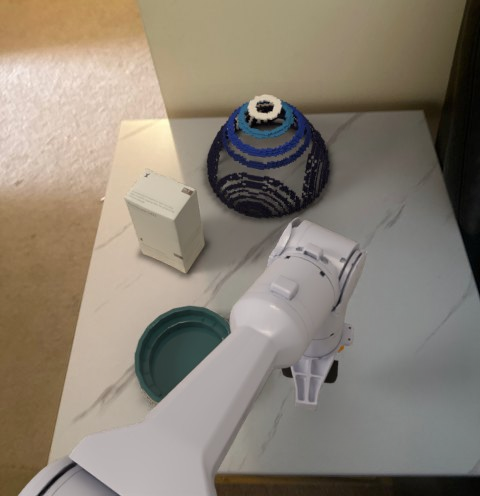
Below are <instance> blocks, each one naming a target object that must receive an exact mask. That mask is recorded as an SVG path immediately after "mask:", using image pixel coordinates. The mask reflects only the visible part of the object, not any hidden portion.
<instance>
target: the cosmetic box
mask: <svg viewBox="0 0 480 496" xmlns="http://www.w3.org/2000/svg"><path fill="white" fill-rule="evenodd" d="M123 199H124V201H125V204H126V208H127V210H128V214H129V216H130V219H131V223H132V225H133V229H134V232H135V235H136V238H137V241H138V245H139V248H140V250H141V253H142V254H143V255H144V256H148V257H150V258H153V259H155V260H157V261H160V262H162V263H164V264H166V265H168V266H170V267H172V268H174V269H175V270H178V271H179V272H181V273H183V274H187V273H188V272H189V270H190V269H191V267H192V266H193V265H194V263H195V261H196V259H197V258H198V257H199V255H200V254H201V252H202V251H203V248H204V247H205V246H206V242H205V237H204V230H203V224H202V218H201V217H202V216H201V211H200V205H199V199H198V191H197V189H196V188H195V187H192V186H189V185H187V184H184V183H182V182H180V181H177V180H176V179H175V178H173V177H171V176H167V175H163V174H161V173H160V174H159V173H158V172H156V171H153V170H151V169H149V168H145V169H144V170H143V172H142V173H141V174H140V176H139V177H138V178H137V180H136V181H135V182H134V184H133V185H132V186H131V188H130V189H129V190H128V191H127V193H126V194H125V195H124V197H123Z"/></svg>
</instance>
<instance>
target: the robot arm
mask: <svg viewBox="0 0 480 496" xmlns="http://www.w3.org/2000/svg"><path fill="white" fill-rule="evenodd" d="M275 245H276V246H275V247H274V248H273V250H272V251H271V253H270V255H269V256H268V259H267V265H266V268H265V269H264V271H263V272H262V273H261V274H260V275H259V276H258V278H256V279H255V281H254V282H252V284H251V285H250V287H248V289H247V290H246V291H245V292H244V293H243V294H242V295H241V297H239V299H238V300H237V301H236V302H235V304H233V306H232V307H231V311H230V314H229V325H230V330H231V334H230V335H229V336H228V337H227V338H225V339H224V340H223V341H222V342H221V343H220V344H219V345H218V346H217V347H216V348H215V349H214V350H213V351H212V352H211V353H210V354H209V355H208V356H207V357H206V358H205V359H204V360H203V361H202V362H201V363H200V364H199V365H198V366H197V367H196V368H195V369H194V370H192V371H191V372H190V373H189V374H188V375H187V376H186V377H185V378H184V379H183V380H182V381H181V382H180V383H179V384H178V385H177V386H176V387H175V388H174V389H173V390H172V391H171V392H170V393H169V394H168V395H167V396H166V397H165V398H164V399H163V400H162V401H161V402H159V403H158V404H157V405H156V406H155V405H154V407H153V408H152V409H151V410H150V411H149V412H148V413H147V414H146V415H145V416H144V417H143V418H142V419H141V420H139V421H138V422H136V423H133V424H129V425H124V426H120V427H119V426H118V427H115V428H110V429H107V430H106V429H105V430H102V431H97V432H92V433H89V434H87V435H86V436H84V437H83V438H81V440H80V441H79V442H78V443H77V445H76V446H75V447H74V448H73V450H72V451H71V452H70V453H69V454H66V455H64V456H63V457H61V458H58V459H56V460H53V461H52V462H50V463H49V464H47V465H46V466H45V467H43V468H42V469H41V470H40V471H38V472H37V473H36V474H35V475H34V476H33V478H31V479H30V481H28V483H27V484H26V485H25V486H24V487H23V489H22V490H21V491H20V492H19V494H18V495H17V496H218V492H217V489H216V486H215V479H216V475H217V473H218V471H219V469H220V467H222V464H223V462H224V460H225V459H226V456H227V455H228V452H229V451H230V449H231V447H232V446H233V443H234V441H235V440H236V438H237V436H238V434H239V433H240V430H241V429H242V427H243V425H244V423H245V422H246V419H247V418H248V416H249V414H250V413H251V411H252V409H253V406H254V405H255V402H256V401H257V399H258V397H259V396H260V394H261V392H262V390H263V388H264V387H265V384H266V382H267V380H268V379H269V377H270V375H271V373H272V371H273V370H274V369H275V370H276V369H277V370H279V369H281V373H282V375H283V377H284V378H288V379H292V381H293V383H294V389H295V402H294V403H295V405H294V407H295V408H296V409H302V410H307V411H314V412H316V411H317V410H318V402H319V395H320V393H321V390H322V388H323V385H324V384H334V383H336V381H337V379H338V376H339V360H338V359H336V357H337V355H338V353H339V352H338V351H339V349H340V347H341V346H344V347H345V346H346V347H350V346H352V345H353V343H354V336H355V335H354V334H355V328H354V325H353V324H351V323H346V322H345V319H346V315H347V308H348V303H349V301H350V299H351V298H352V295H353V294H354V291H355V289H356V287H357V285H358V282H359V281H360V278H361V276H362V273H363V271H364V268H365V264H366V259H367V255H368V250H364V249H362V248H360V242H357V241H355V240H353V239H350V238H349V237H347V236H344V235H342V234H339V233H338V232H335V231H333V230H330V229H328V228H326V227H324V226H322V225H319V224H317V223H315V222H312V221H310V220H308V219H304V220H302V219H301V218H300V217H295V218H293V219H292V220H291V221H289V223H288V224H287V226H286V228H285V229H284V231H283V232H282V234H281V236H280V237H279V239H278V242H277V243H276V244H275Z"/></svg>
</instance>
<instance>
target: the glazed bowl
mask: <svg viewBox="0 0 480 496" xmlns="http://www.w3.org/2000/svg"><path fill="white" fill-rule="evenodd" d="M230 334H231V330H230V323H229V322H228V321H226V319H224V318H223V317H222V316H221V315H220V314H219V313H217V312H216V311H213V310H212V309H210V308H208V307H204V306H196V305H185V306H179V307H172V309H170V310H167V311H165V312H163V313H162V314H159V315H158V316H157V317H155V319H154V320H153V321H151V322H150V323H149V324H148V325H147V326H146V328H145V329H144V331H143V333H141V335H140V337H139V339H138V341H137V344H136V348H135V352H134V355H133V356H134V357H133V358H134V359H133V360H134V374H135V377H136V378H137V379H136V380H137V381H138V383H139V386H140V388H141V390H142V391H143V392H144V394H145V395H146V397H147V398H148V399H149V400H150V401H151V402H152V403H153V405H154V407H155V406H156V405H157V404H158V403H159V402H161V401H162V400H163V399H164V398H165V397H166V396H167V395H168V394H169V393H170V392H171V391H172V390H173V389H174V388H175V387H176V386H177V385H178V384H179V383H180V382H181V381H182V380H183V379H184V378H185V377H186V376H187V375H188V374H189V373H190V372H191V371H192V370H194V369H195V368H196V367H197V366H198V365H199V364H200V363H201V362H202V361H203V360H204V359H205V358H206V357H207V356H208V355H209V354H210V353H211V352H212V351H213V350H214V349H215V348H216V347H217V346H218V345H219V344H220V343H221V342H222V341H223V340H224V339H225V338H227V337H228V336H229V335H230Z"/></svg>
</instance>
